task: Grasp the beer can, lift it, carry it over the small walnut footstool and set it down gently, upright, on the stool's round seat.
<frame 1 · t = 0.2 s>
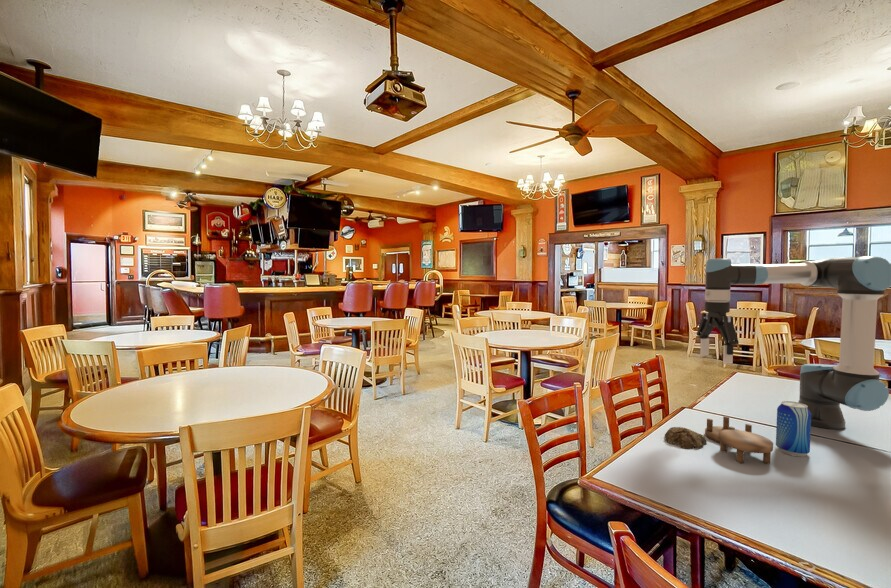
hand: (715, 359, 144), 28 cm above the table, fingers open, 13 cm apart
bread roll: (684, 442, 139), on the table
footstool: (744, 456, 128), on the table
upturned footstool: (728, 438, 141), on the table
beer can: (792, 452, 131), on the table
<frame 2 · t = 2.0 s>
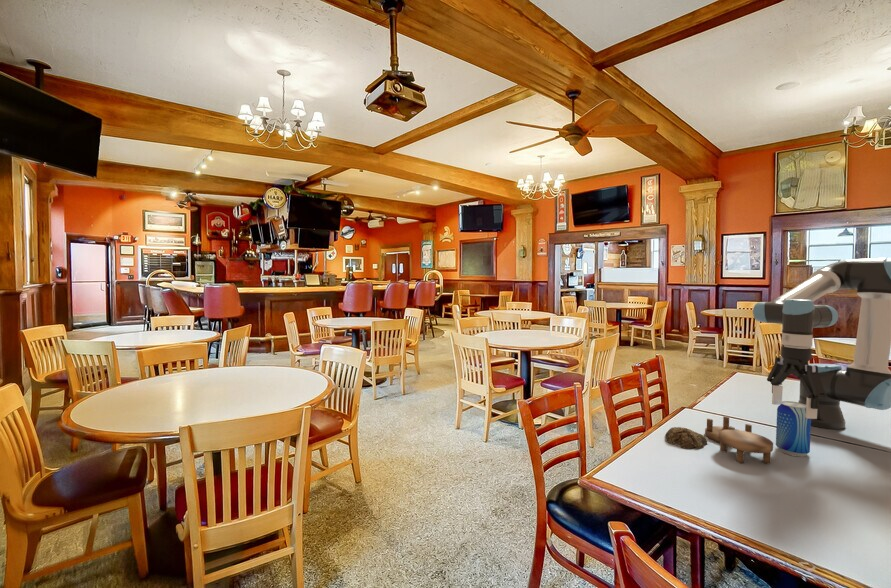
hand: (793, 411, 130), 14 cm above the table, fingers open, 13 cm apart
nothing on the table moved.
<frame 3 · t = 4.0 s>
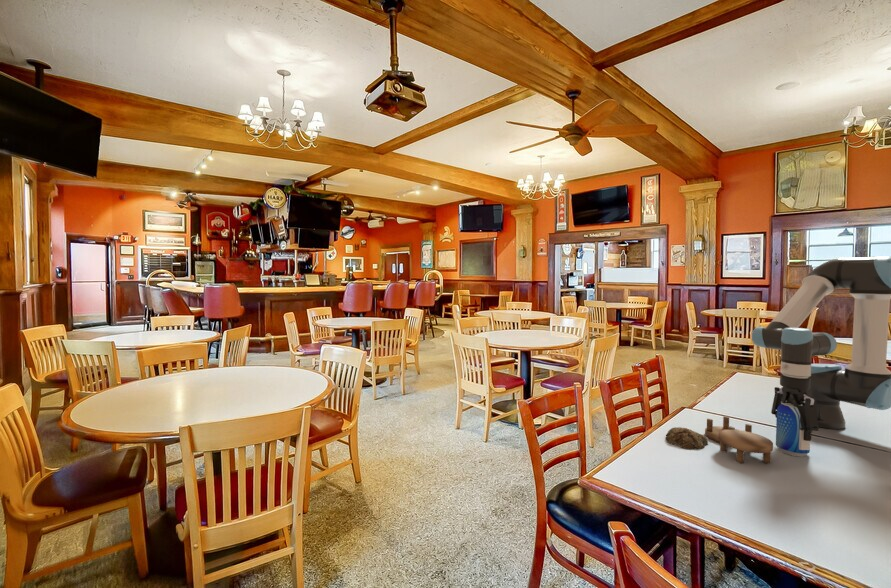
hand: (792, 443, 131), 3 cm above the table, fingers closed on beer can, 8 cm apart
beer can: (792, 452, 131), on the table, touching gripper
everything else where it was.
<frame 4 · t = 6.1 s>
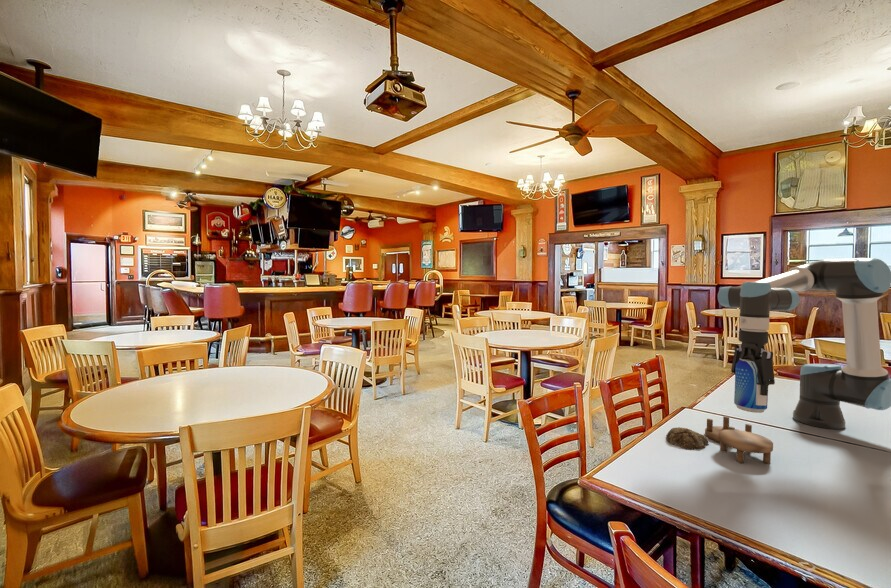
hand: (750, 400, 127), 18 cm above the table, fingers closed on beer can, 8 cm apart
beer can: (750, 409, 127), point 15 cm above the table, touching gripper
everything else where it was.
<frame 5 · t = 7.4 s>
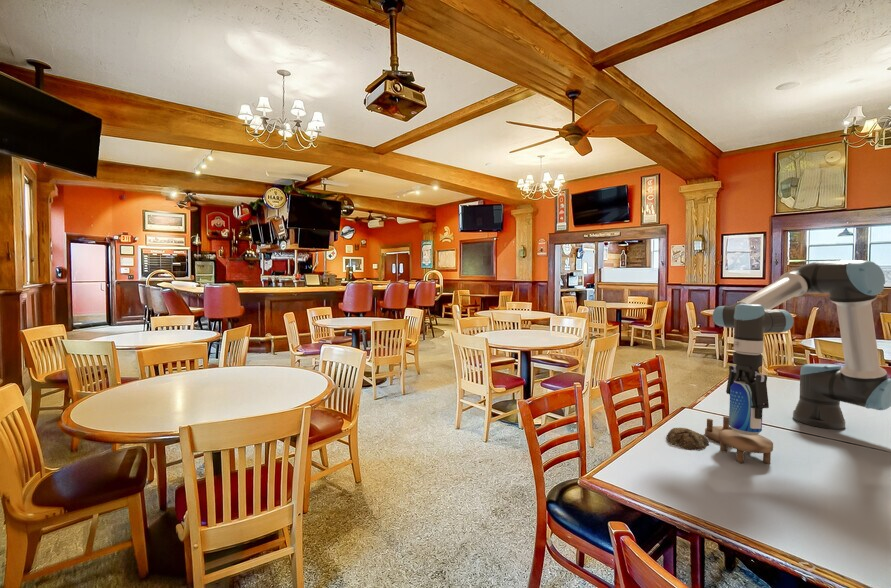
hand: (745, 422, 127), 11 cm above the table, fingers closed on beer can, 8 cm apart
beer can: (744, 431, 127), point 8 cm above the table, touching gripper
everything else where it was.
when the fingers open (10 cm above the table, at t = 8.4 s): beer can drops 1 cm, resting on footstool.
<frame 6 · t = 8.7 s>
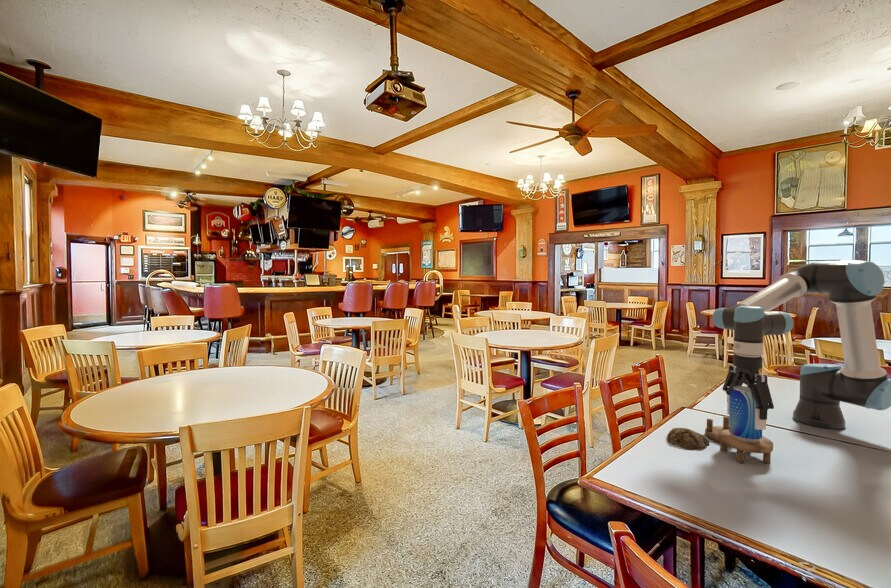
hand: (745, 421, 127), 11 cm above the table, fingers open, 12 cm apart
beer can: (745, 438, 127), point 6 cm above the table, touching footstool
everything else where it was.
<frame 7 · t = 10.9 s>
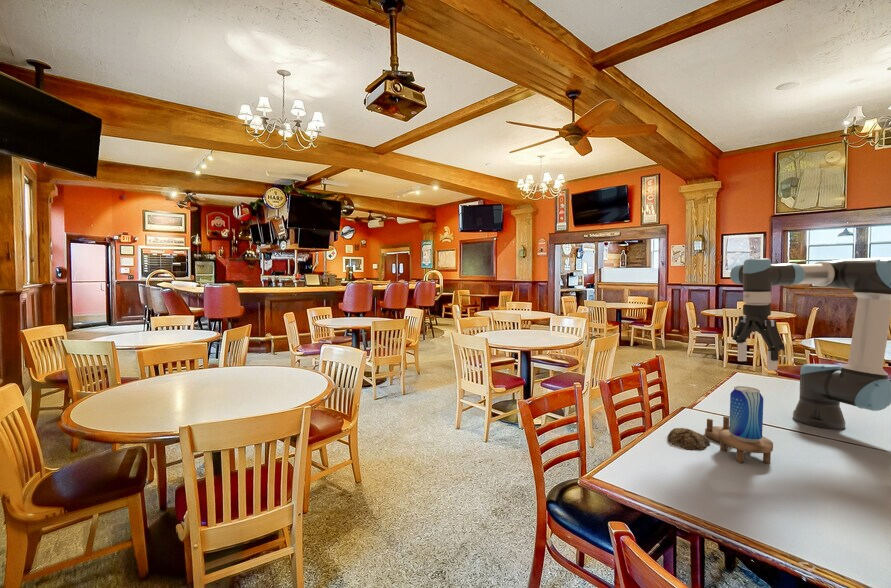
hand: (756, 365, 137), 27 cm above the table, fingers open, 13 cm apart
nothing on the table moved.
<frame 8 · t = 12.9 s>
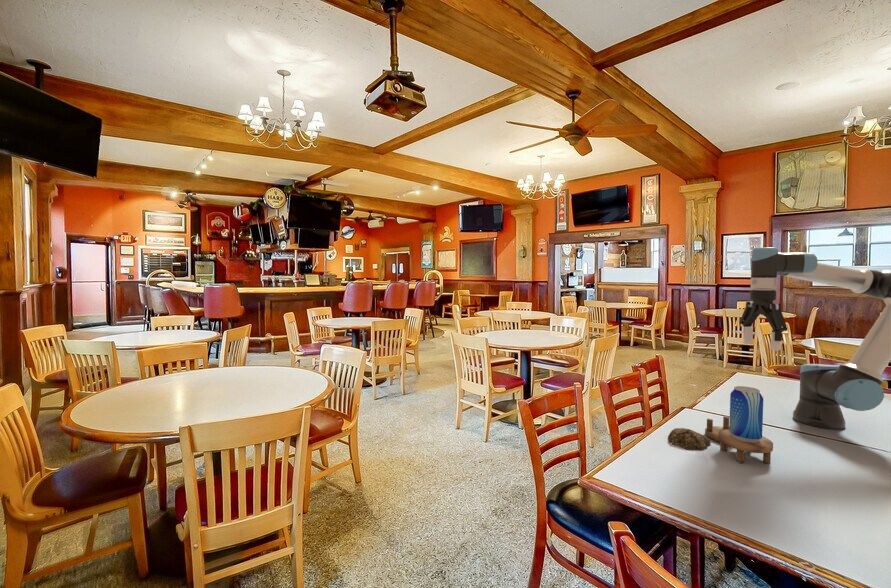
hand: (761, 346, 147), 32 cm above the table, fingers open, 13 cm apart
at the end: beer can inside the target area on the footstool (0.1 cm from its centre), point 5.8 cm above the footstool's base; beer can tilted 0°; the gripper is holding nothing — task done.
